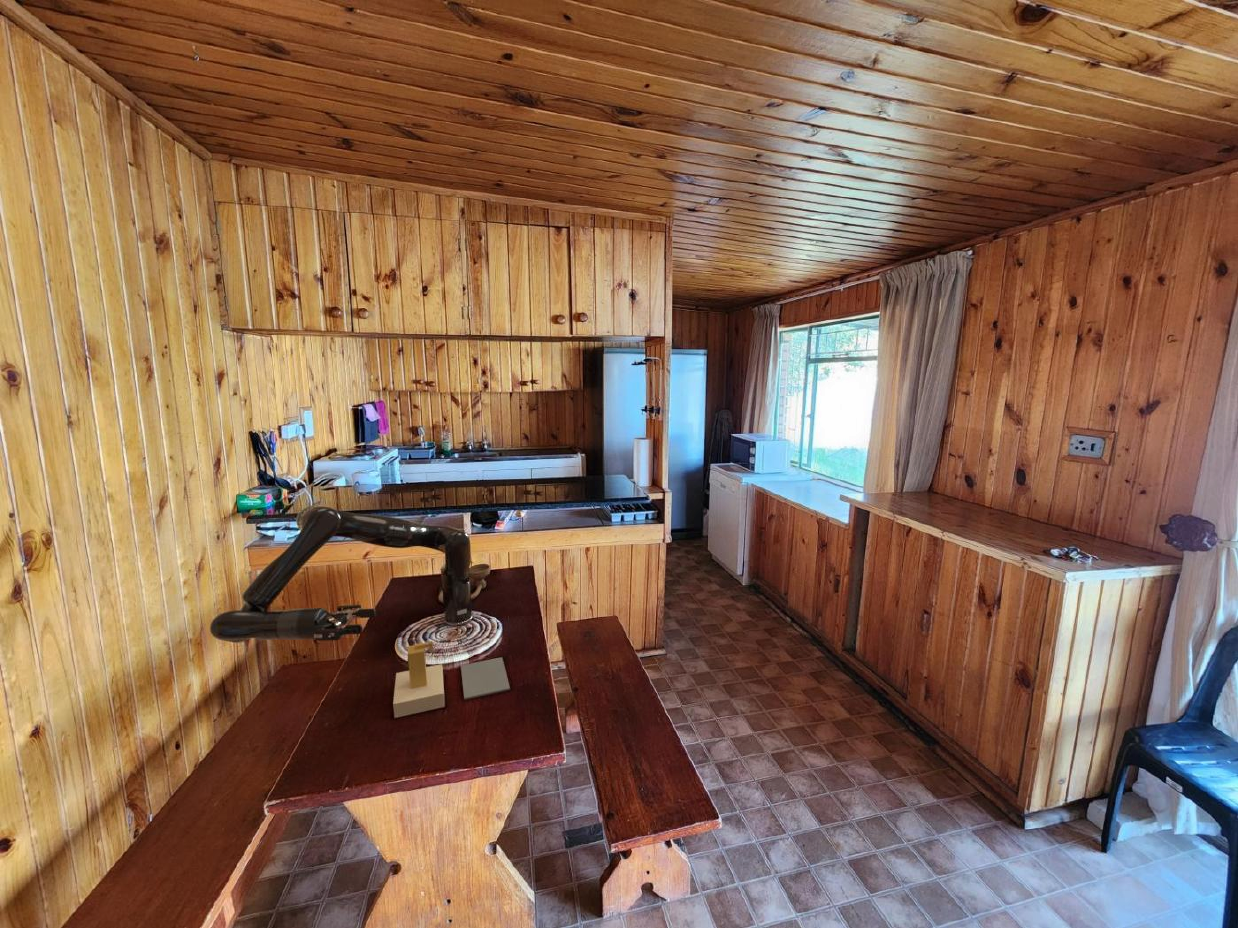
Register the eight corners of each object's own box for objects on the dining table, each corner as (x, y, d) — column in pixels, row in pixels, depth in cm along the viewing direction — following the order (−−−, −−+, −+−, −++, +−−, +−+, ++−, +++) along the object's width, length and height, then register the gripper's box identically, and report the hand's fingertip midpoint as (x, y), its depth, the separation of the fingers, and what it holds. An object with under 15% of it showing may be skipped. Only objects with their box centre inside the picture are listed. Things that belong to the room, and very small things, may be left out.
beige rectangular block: (397, 685, 140) (396, 672, 139) (443, 676, 144) (442, 663, 143) (394, 718, 127) (393, 703, 126) (444, 706, 131) (443, 693, 131)
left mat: (460, 667, 149) (460, 665, 149) (502, 658, 153) (502, 656, 153) (464, 700, 134) (464, 698, 134) (510, 689, 138) (509, 687, 138)
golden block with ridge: (411, 680, 136) (407, 642, 134) (435, 675, 138) (432, 638, 136) (410, 688, 132) (407, 650, 130) (435, 683, 135) (432, 645, 132)
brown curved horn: (434, 610, 186) (486, 604, 187) (430, 588, 184) (483, 582, 186) (449, 583, 209) (496, 577, 211) (446, 563, 208) (493, 558, 209)
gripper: (285, 623, 121) (356, 620, 123) (314, 597, 135) (377, 594, 137) (289, 652, 123) (359, 648, 124) (318, 623, 137) (380, 620, 138)
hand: (368, 620), depth 130 cm, fingers open, 8 cm apart
